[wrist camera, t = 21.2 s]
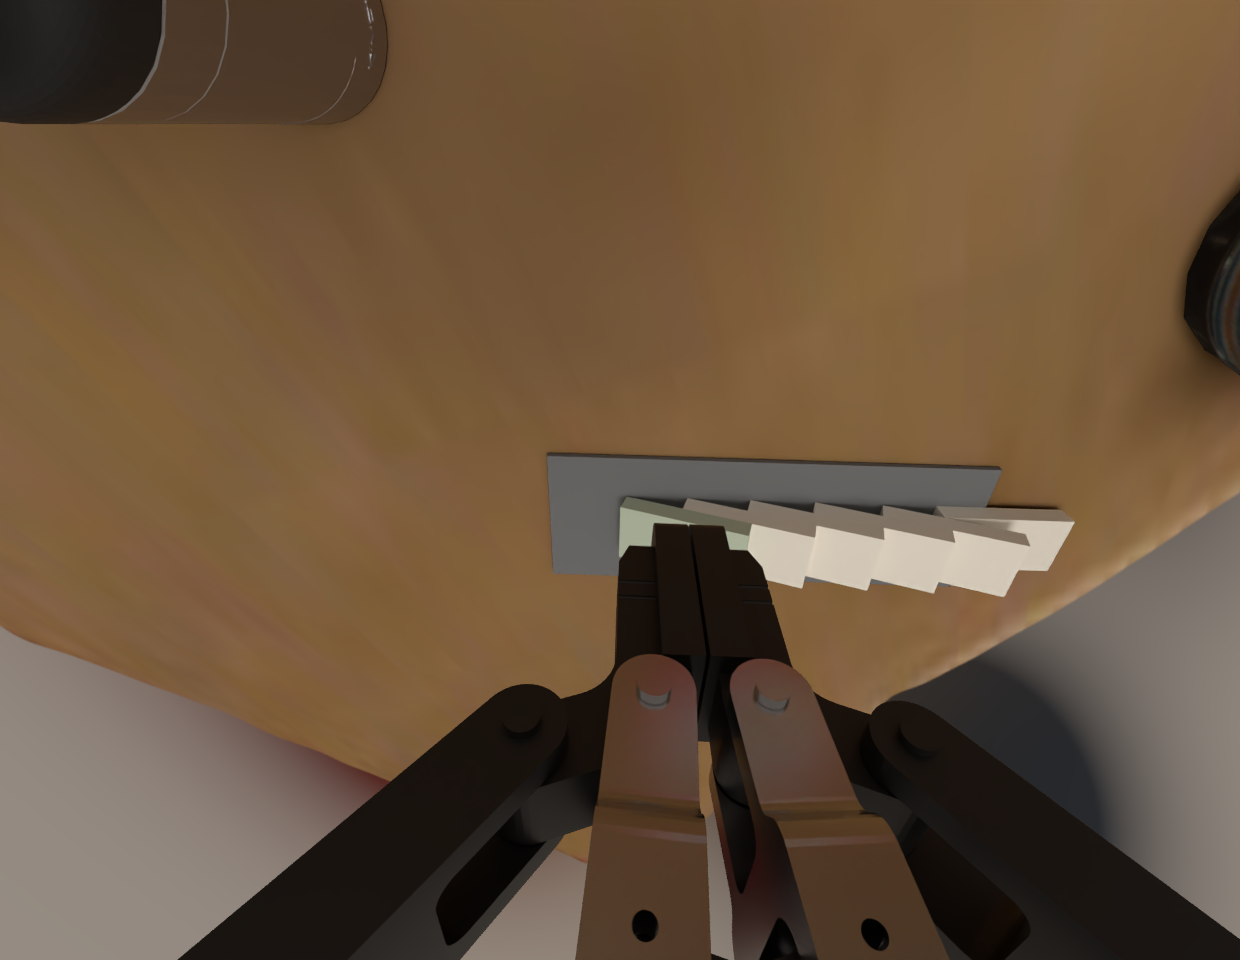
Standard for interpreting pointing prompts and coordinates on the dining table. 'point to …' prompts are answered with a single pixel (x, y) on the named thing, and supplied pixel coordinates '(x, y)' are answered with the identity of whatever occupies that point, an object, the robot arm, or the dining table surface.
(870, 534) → the domino
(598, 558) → the mat
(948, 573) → the domino
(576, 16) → the dining table surface
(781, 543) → the domino
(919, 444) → the dining table surface
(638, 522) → the domino
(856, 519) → the domino
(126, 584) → the dining table surface
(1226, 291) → the beer stein
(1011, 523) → the domino
